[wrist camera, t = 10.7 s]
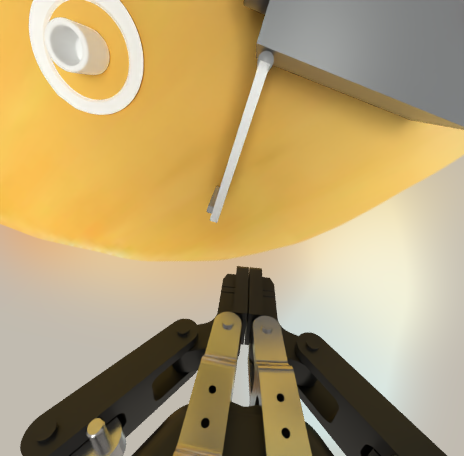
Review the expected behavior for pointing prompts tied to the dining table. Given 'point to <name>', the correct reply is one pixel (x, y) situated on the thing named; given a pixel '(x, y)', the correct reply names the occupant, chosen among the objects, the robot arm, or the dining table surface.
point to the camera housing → (374, 51)
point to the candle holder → (83, 52)
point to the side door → (241, 134)
